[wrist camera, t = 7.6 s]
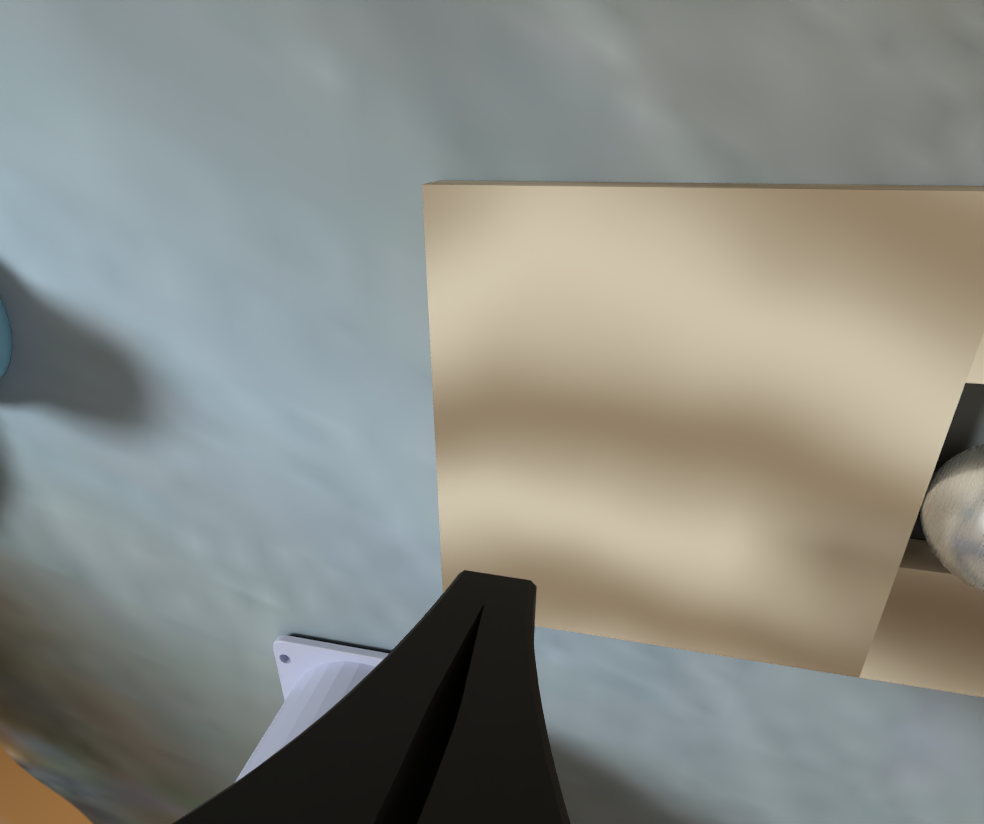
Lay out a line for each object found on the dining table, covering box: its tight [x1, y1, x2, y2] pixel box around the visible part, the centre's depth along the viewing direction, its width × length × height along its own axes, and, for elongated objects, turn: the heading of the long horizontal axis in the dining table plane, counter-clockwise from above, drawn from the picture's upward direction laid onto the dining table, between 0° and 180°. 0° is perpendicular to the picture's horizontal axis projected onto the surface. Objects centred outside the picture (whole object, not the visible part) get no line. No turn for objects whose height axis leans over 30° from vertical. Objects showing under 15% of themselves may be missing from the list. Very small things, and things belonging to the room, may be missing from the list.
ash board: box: [422, 180, 984, 697], centre depth 16 cm, size 14×22×2 cm, turn 90°
